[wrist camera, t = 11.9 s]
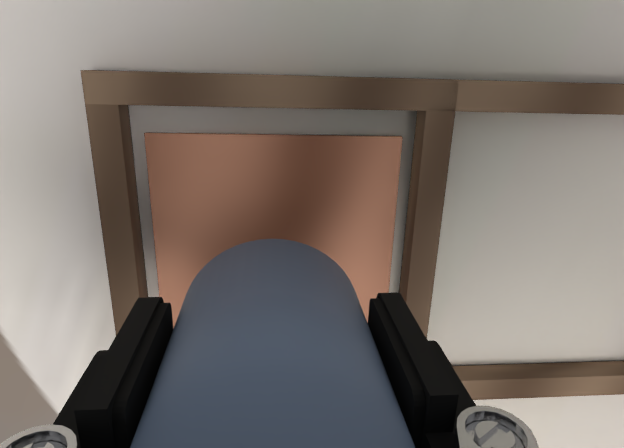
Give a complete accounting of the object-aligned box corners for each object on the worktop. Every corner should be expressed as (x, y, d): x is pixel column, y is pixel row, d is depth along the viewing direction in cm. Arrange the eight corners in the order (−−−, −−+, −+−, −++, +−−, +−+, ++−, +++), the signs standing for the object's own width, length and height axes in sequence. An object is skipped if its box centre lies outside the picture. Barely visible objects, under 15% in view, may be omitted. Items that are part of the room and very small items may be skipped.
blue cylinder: (364, 238, 12) (517, 511, 5) (354, 390, 14) (455, 774, 6) (175, 239, 12) (8, 547, 4) (187, 397, 13) (82, 821, 6)
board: (991, 93, 18) (1032, 94, 17) (853, 370, 22) (879, 384, 21) (92, 70, 15) (80, 70, 14) (133, 395, 19) (126, 412, 18)
